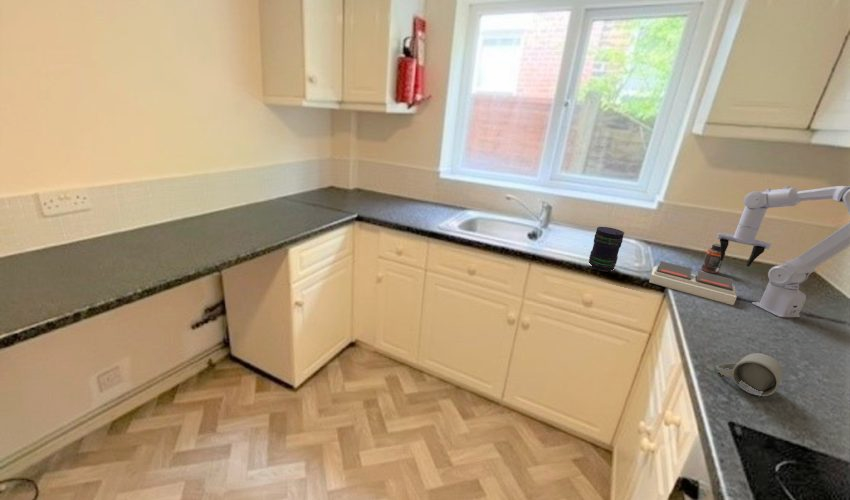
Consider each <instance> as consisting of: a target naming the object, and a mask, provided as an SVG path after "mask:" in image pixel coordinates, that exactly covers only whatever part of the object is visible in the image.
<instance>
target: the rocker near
mask: <svg viewBox="0 0 850 500" xmlns="http://www.w3.org/2000/svg"><path fill="white" fill-rule="evenodd" d="M696 275H697V279H696V282H699V283H703V284H707V285H711V286H715V287H719V288H723V289H726V290H730V291H732V287H733V286H734V284H733V283H734V282H733V281H734V279H733V278H729V277H725V276H720V275H717V274H714V273H709V272H706V271H701V270H698V271H697V274H696Z"/></svg>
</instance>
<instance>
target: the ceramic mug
mask: <svg viewBox="0 0 850 500" xmlns="http://www.w3.org/2000/svg"><path fill="white" fill-rule="evenodd" d="M721 368H723V369H721ZM725 368H729V369H733V370H724V369H725ZM717 370H718V371H719V372H720V373H721V374H722V375H724V376H723V377H727V378H731V379H732V381H733V382H734V384H735V385H736V384H739V382H740V381H741V380H742V381H743V382H745V383H746V384H748V385H749V386H751V387H752V388H754V389H756V390H758V391H763V393H762V394H761V396H763V397H768V396H770V395H773V394H775V392H777V390H778V389H779V386H780V383H781V381H782V378H783V370H782V367H781V365H780V363H779V362H778V361H777V360H776V359H774V358H773V357H772V356H770V355H767V354H764V353H759V352H756V353H755V352H754V353H750V354H747V355H745V356H743V357H742V358H741V359H740V361H738V362H737V363H734V362H733V363H732V362H725V363H719V364H718V365H717V366H716V371H717ZM722 375H721V376H722Z"/></svg>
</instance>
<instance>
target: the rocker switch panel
mask: <svg viewBox="0 0 850 500" xmlns="http://www.w3.org/2000/svg"><path fill="white" fill-rule="evenodd" d="M658 268H659V265H658V264H657V265H655V266H654V267H653V269H652V272H651V275H650V278H649V281H648V283H650V284H654V285H658V286H661V287H664V288H669V289H672V290H676V291H679V292H683V293H687V294H692V295H694V296H697V297H702V298H705V299H709V300H712V301H716V302H720V303H723V304H728V305H731V306H734V304H735V302H736V300H737V292H736V288H735V285H733V287H732V291H730V290H726V289H723V288H719V287H715V286H711V285H707V284H703V283H699V282H696V279H697V274H694V273H691V276H690V280H688V279H684V278H680V277H676V276H672V275H668V274H664V273H660V272H657V271H658Z"/></svg>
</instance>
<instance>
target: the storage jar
mask: <svg viewBox="0 0 850 500" xmlns="http://www.w3.org/2000/svg"><path fill="white" fill-rule="evenodd" d="M624 236H625V232H624V231H622V230H620V229H617V228H614V227H608V226H597V227H596V231H595V234H594V238H593V245H592V250H591V251H590V255H589V259H588V262H589V263H590V264H591V265H592V267H594V268H593V269H595V270H597V269H598V270H597V271H601V272H608V271H610V272H612V271H611V270H613V269H614V268H615V267H616V265H617V263H618V262H617V261H618V260H619V259H618V258H619V256H618V255H619V251H620V248H621V247H622V244H623V240H624ZM592 267H591V268H592ZM614 270H615V269H614Z"/></svg>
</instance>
